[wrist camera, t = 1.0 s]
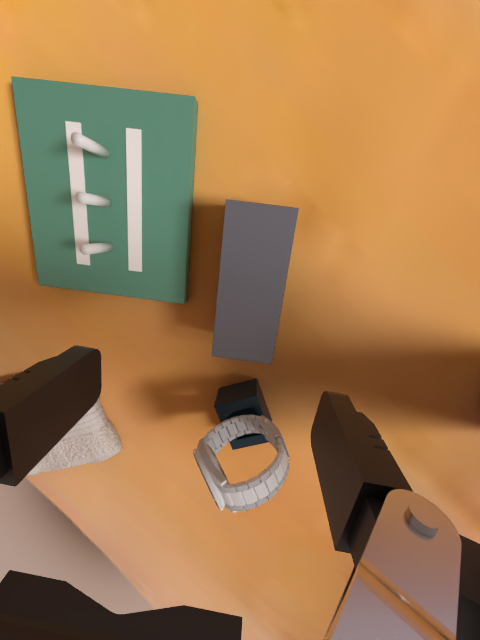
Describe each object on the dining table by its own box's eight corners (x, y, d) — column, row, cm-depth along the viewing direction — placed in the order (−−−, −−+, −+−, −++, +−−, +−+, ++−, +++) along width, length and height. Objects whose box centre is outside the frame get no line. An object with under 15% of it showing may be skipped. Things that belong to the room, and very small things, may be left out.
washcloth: (-44, 389, 32) (-74, 405, 29) (85, 356, 30) (66, 370, 27) (8, 464, 36) (-14, 485, 33) (128, 441, 33) (116, 461, 30)
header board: (198, 103, 21) (181, 69, 16) (187, 300, 26) (172, 315, 22) (24, 84, 21) (-38, 46, 17) (48, 282, 27) (5, 293, 22)
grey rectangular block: (232, 205, 23) (224, 199, 18) (290, 212, 23) (298, 208, 18) (219, 333, 27) (210, 355, 22) (269, 340, 27) (271, 364, 22)
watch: (202, 392, 29) (170, 481, 19) (273, 374, 28) (280, 459, 18) (219, 432, 31) (199, 535, 21) (287, 417, 30) (302, 518, 19)
